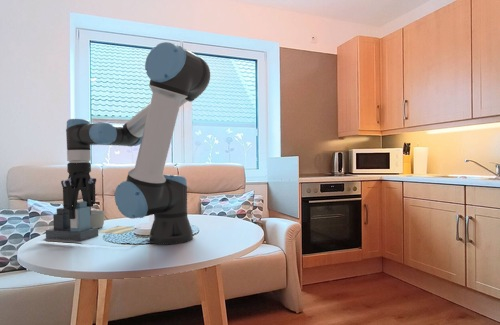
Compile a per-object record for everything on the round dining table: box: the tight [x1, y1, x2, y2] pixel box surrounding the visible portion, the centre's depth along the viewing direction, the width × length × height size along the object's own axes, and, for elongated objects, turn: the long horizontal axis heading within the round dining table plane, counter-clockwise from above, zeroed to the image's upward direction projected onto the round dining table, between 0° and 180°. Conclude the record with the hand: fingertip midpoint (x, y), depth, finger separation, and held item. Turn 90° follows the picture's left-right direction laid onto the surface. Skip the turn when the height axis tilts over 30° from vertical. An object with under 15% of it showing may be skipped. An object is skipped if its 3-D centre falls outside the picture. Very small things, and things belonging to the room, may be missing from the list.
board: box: [98, 225, 135, 235], centre depth 124 cm, size 12×12×1 cm
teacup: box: [90, 209, 106, 230], centre depth 128 cm, size 14×11×8 cm
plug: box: [70, 200, 90, 232], centre depth 112 cm, size 4×4×11 cm
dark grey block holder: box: [45, 206, 99, 245], centre depth 114 cm, size 16×8×12 cm, turn 72°
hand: (80, 226), depth 112 cm, fingers closed on plug, 4 cm apart
